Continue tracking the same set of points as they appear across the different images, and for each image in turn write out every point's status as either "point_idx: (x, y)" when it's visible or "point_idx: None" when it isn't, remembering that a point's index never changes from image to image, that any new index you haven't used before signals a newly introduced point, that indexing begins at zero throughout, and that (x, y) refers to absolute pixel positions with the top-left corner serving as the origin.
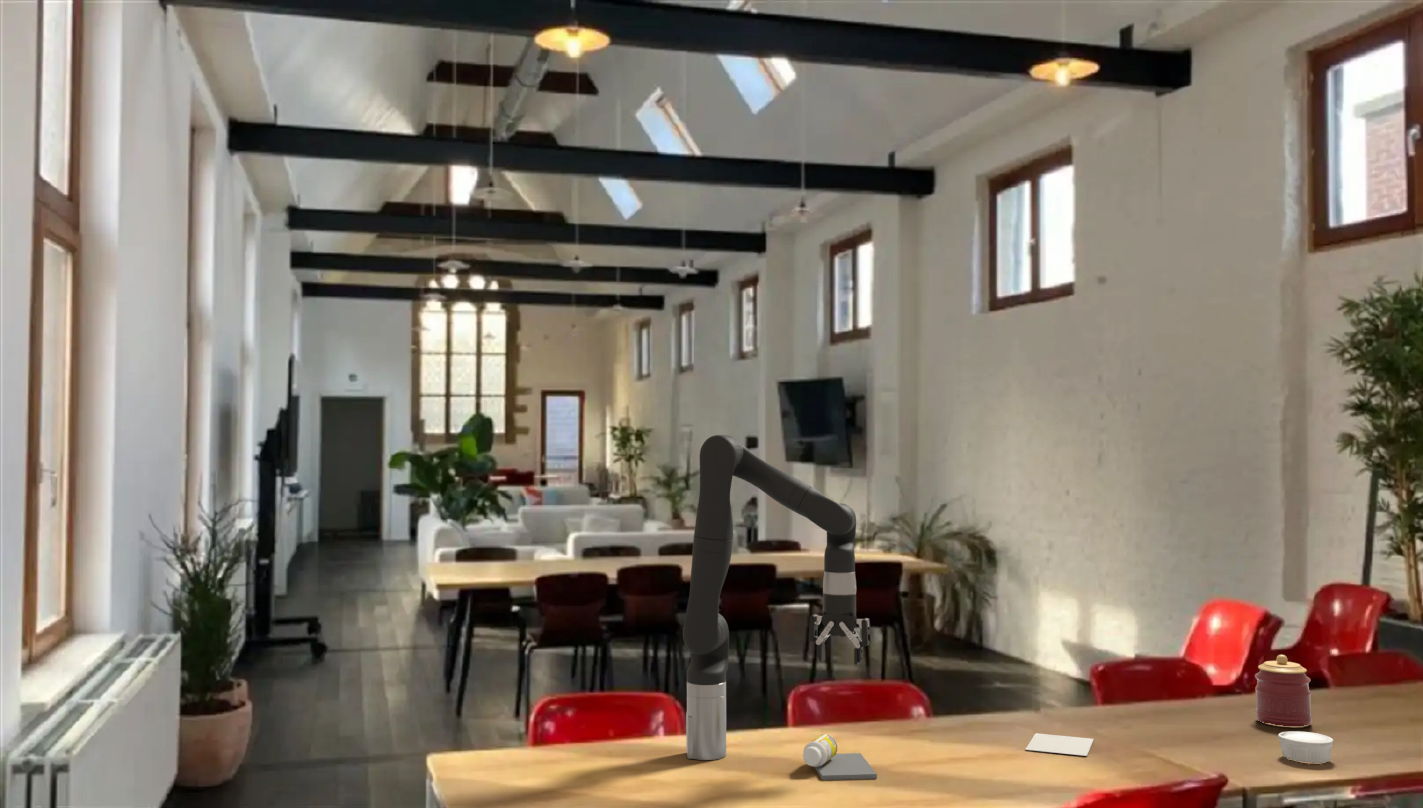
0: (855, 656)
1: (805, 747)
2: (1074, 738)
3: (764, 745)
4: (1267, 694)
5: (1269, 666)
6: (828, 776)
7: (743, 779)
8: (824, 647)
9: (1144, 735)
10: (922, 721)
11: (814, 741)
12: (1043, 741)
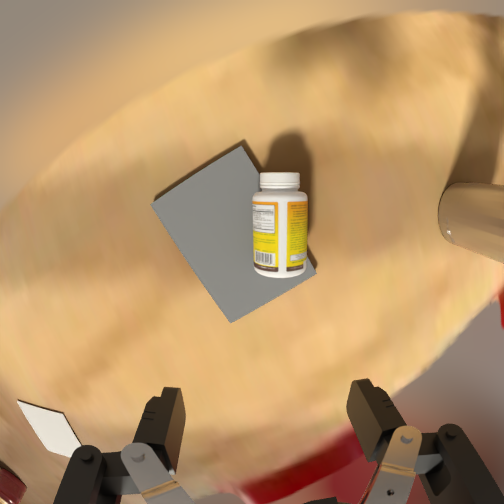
0: (164, 411)
1: (303, 193)
2: (58, 450)
3: (403, 309)
4: (5, 487)
5: (1, 500)
6: (230, 152)
7: (368, 101)
8: (365, 446)
9: (36, 460)
10: (223, 482)
11: (286, 200)
12: (69, 441)
